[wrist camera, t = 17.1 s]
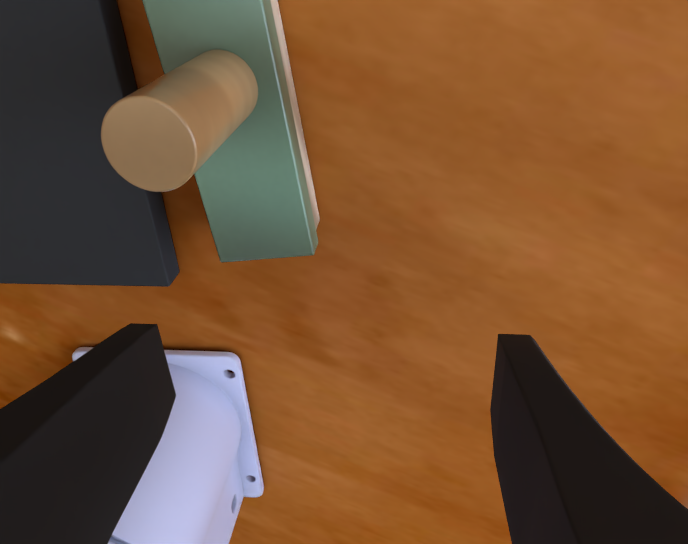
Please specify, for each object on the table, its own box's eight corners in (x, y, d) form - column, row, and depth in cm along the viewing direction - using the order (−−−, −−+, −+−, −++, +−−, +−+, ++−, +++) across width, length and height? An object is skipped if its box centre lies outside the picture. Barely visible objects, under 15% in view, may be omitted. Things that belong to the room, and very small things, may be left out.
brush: (325, 224, 22) (280, 356, 15) (239, 232, 23) (159, 362, 16) (253, -158, 16) (128, -220, 9) (139, -133, 17) (-55, -175, 10)
